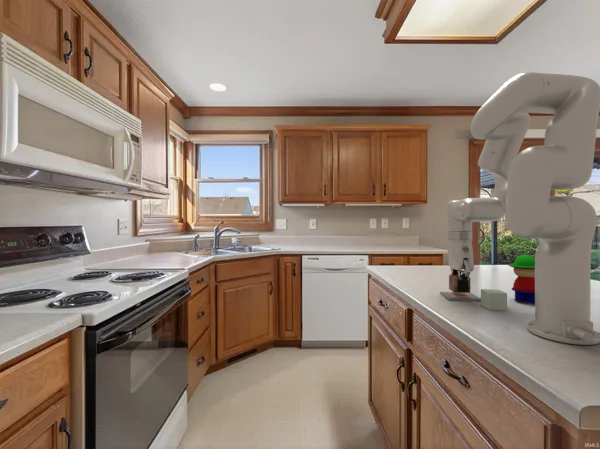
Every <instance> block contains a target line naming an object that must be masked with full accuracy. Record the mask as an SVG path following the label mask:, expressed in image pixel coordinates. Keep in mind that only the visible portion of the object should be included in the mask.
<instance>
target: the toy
mask: <svg viewBox="0 0 600 449" xmlns="http://www.w3.org/2000/svg"><path fill="white" fill-rule="evenodd" d="M508 266H509V267H511V268H513V269H512V271H513V273H514V274H515V275H516V278H515V280H514V282H513V285H512V287H511V290H512V291H514V301H515V302H517V303H526V304H531V305H535V256H534V257H533V256H532V255H529V254H521V255H518V256H517V257H516V258H515V260H514V262H513V263H509V264H508Z"/></svg>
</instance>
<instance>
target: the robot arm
mask: <svg viewBox="0 0 600 449" xmlns="http://www.w3.org/2000/svg"><path fill="white" fill-rule="evenodd" d="M530 114H545V115H546V114H549V115H550V114H551V115H553V116H552V117H551V119H550V120H549V122H548V123H547V125H546V128H545V131H544V142H543V145H536V146H535V145H534V146H530V147H527V148H525V149H523V150H521V151H520V149H521V146H522V144H523V141H524V139H525V137H526V134H527V132H528V130H529V128H530V125H531V119H532V118H531V116H530ZM599 116H600V85H599V83H598V82H597V81H596V80H594V79H592V78H590V77H586V76H580V75H573V74H561V73H545V72H531V71H530V72H529V71H528V72H522V73H519V74H516V75H515V76H512V77H511V78H510V79H508V81H506V82H505V83H504V84H503V85H502V86H501V87H499V89H498V90H497V91H496V92H495V93H494V94H493V95H491V97H490V98H488V100H487V101H485V102H484V103H483V105H482V106H481V107H480V108H479V109H478V110H477V112H476V113H475V114H474V116H473V118H472V120H471V123H470V128H469V129H470V134H471V136H472V137H473V138H474V139H477V140H485V142H484V145H483V147H482V151H481V153H480V155H479V158H478V161H477V164H478V168H480V169H481V170H483V171H484V172H487V173H489V174H491V176H492V177H493V179H494V183H495V184H494V189H493V191H492V193H491V196H490V197H466V198H463V199H453V200H450V201H448V202H447V206H446V210H447V211H446V221H447V222H446V225H447V226H446V229H447V231H446V232H447V234H446V241H448V242H449V243H448V257H447V258H448V261H447V262H448V266H449V267H450V275H458V276H459V280H458V292H469V277H470V274H471V272H473V271H474V269H475V263H474V262H475V261H474V248H473V243H472V242H473V223H479V222H481V223H483V222H484V223H485V222H489V223H490V222H497V221H499V220H501V219H502V218H503V217H505V224H506V225H507V228H508V230H509V231H510V232H511V234H513V235H514V236H516V237H518V238H522V239H525V240H527V239H529V240H530V239H531V240H532V239H533V240H534V239H535V240H536V239H537V240H538V239H539V240H540V242H539V243H538V246H537V248H536V251H535V256H534V258H535V304H534V320H531V321H528V322H527V323H526V329H527V331H529V332H530V333H532V334H534V335H535V336H538V337H541V338H545V339H546V340H551V341H555V342H559V343H564V344H570V345H577V346H582V345H583V346H592V345H597V344H600V332H598V331H597V330H594V321H591V263H592V256H591V255H592V246H593V241H594V236H595V232H596V227H597V222H598V221H597V220H598V219H597V217H598V216H597V211H596V210H595V208H594V206H593V205H592V204H591V203H590V202H589V201H587V200H585V199H583V198H580V197H576V196H568V195H551V191H567V190H574V189H579V188H582V187H583V186H585V185H586V184H587V183H588V182H589V181H590V179H591V177H592V173H593V168H594V161H595V160H594V158H595V152H596V151H595V149H596V141H597V127H598V121H599ZM519 151H520V152H519Z"/></svg>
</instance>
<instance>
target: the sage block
mask: <svg viewBox="0 0 600 449" xmlns="http://www.w3.org/2000/svg"><path fill="white" fill-rule="evenodd" d="M480 298H481V301H480V306H481V307H484V308H485V309H486V310H488V311H508V292H504V290H500V289H496V288H495V289H494V288H493V289H491V288H490V289H489V288H482V289H480Z"/></svg>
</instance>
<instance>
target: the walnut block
mask: <svg viewBox="0 0 600 449" xmlns="http://www.w3.org/2000/svg"><path fill="white" fill-rule="evenodd" d="M458 280H459V276H458V275H451V274H449V275H448V289H449V290H450V292H454V293H471V277H470V276H469V292H458Z"/></svg>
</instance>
